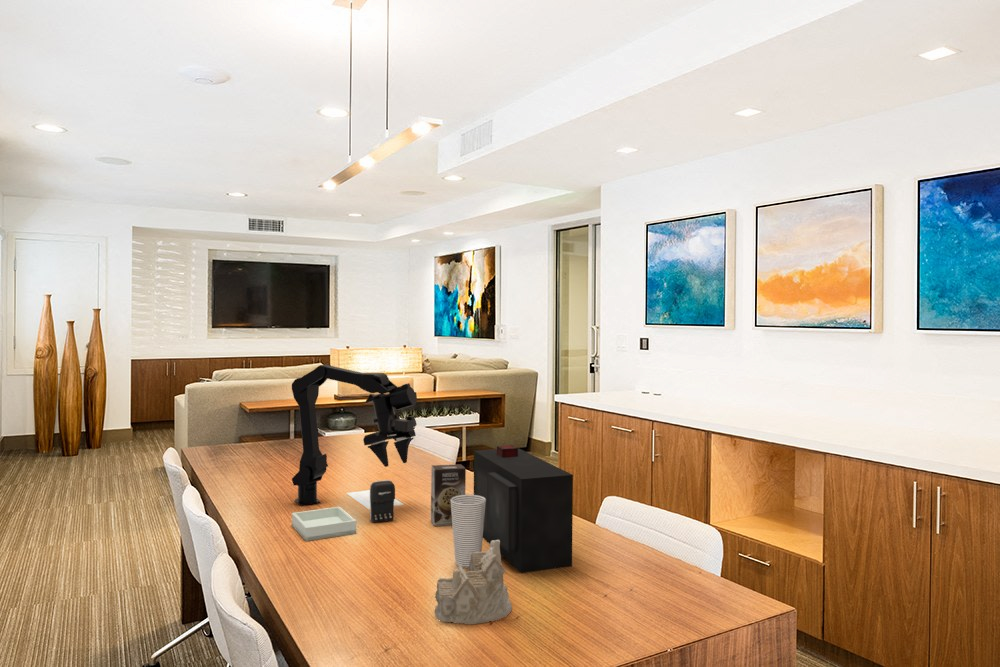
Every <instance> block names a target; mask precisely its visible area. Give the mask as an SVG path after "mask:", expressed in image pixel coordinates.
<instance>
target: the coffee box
mask: <svg viewBox="0 0 1000 667" xmlns="http://www.w3.org/2000/svg"><path fill="white" fill-rule="evenodd" d="M466 471H467V470H466V467H465V466H464V465H462V464H461V463H460V464H459V463H458V464H436V465H435V464H433V465H431V477H430V478H431V482H430V483H431V485H430V486H431V488H430V490H431V491H430V493H431V494H430V521H431V522H432V523H431V524H433V526H434V527H440V526H452V513H451V498H452V497H455V496H459V495H466V480H467V478H466V474H467V473H466Z"/></svg>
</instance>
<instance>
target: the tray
mask: <svg viewBox="0 0 1000 667" xmlns="http://www.w3.org/2000/svg"><path fill="white" fill-rule="evenodd" d="M291 527H292V528H294V529H295V531H296V532H297V533H298V534H299V535H300V536H301V537H302V539H303V540H304V541H305V542H310V541H316V540H322V539H328V538H330V539H331V538H336V537H343V536H348V535H349V536H350V535H355V534H357V520H356V519H355V518H354V517H353V516H351V515H350V513H348V512H347V511H345V510H344V509H343V508H342V507H341V506H335V507H326V508H319V509H312V510H304V511H298V512H297V511H296V512H292V513H291Z"/></svg>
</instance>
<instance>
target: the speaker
mask: <svg viewBox="0 0 1000 667" xmlns="http://www.w3.org/2000/svg"><path fill="white" fill-rule="evenodd" d="M573 488H574V475H573V474H572V473H570V472H567V471H566V470H563V468H562V469H561V468H560V467H558V466H556V465H553V464H552V463H549V462H547V461H545V460H543V459H541V458H539V457H537V456H535V455H533V454H531V453H529V452H527V451H525V450H523V449H521V448H519V447H516V446H514V445H512V444H511V445H497V446H496V449H495V448H494V449H482V450H473V495H479V496H482V497H484V498H485V499H486V506H485V517H484V528H483V539H484V540H485V541H486V542H487V543H488V544H489V545H490V542H491V541H492V540H500V554H501V557H503V558H504V559H505V560H506V561H507V562H509V564H511V566H512V567H513V568H515V570H517V571H518V572H519V573H520V574H524V573H525V574H526V573H533V572H541V571H549V570H553V569H554V570H555V569H562V568H563V569H564V568H571V567H573V510H574V508H573V503H574V502H573V500H574V492H573V490H574V489H573Z"/></svg>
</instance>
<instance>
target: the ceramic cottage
mask: <svg viewBox="0 0 1000 667" xmlns="http://www.w3.org/2000/svg"><path fill="white" fill-rule="evenodd" d="M501 559H502V555H501V554H500V540H492V541H491V542H490V544H489V549H488V550H485V551H481V552H472V554H471V559H470V563H469V566H468V568H467V571H466V570H465V569H464V567H462V566H461V565H459V566H457V568H456V570H455V569H454V570H453V571H452V577H450V578H446V577H445V578H442V577H440V578H438V580H437V582H436V591H435V594H434V595H435V596H434V598H435V601H436V602H437V605H435V607H434V614H435V613H436V614H435V619H436V620H437V619H438V620H437V621H439V620H440V621H439V622H441V621H444V622H443V623H448V622H449V623H451V622H456V623H455V624H459V623H460V624H463V623H464V624H463V625H465V624H466V625H476V624H484V623H490V622H489V621H492V622H495V621H494V620H496V621H498V620H499V619H500V620H502V619H501V618H503V617H505V616H506V617H508V616H509V615H510V614H511V613H512V611H513V605H512V602H511V601H510V599H509V598H510V597H509V596H510V595H509V593H508V586H507V585H505V583H504V582H505V581H504V575H505V573H506V568H505V567H504V566H503V565H502V564H503V563H502V561H501ZM511 610H512V611H511ZM510 612H511V613H510ZM509 613H510V614H509ZM508 614H509V615H508ZM507 615H508V616H507ZM506 617H505V618H506ZM497 619H498V620H497ZM503 619H504V618H503Z"/></svg>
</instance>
